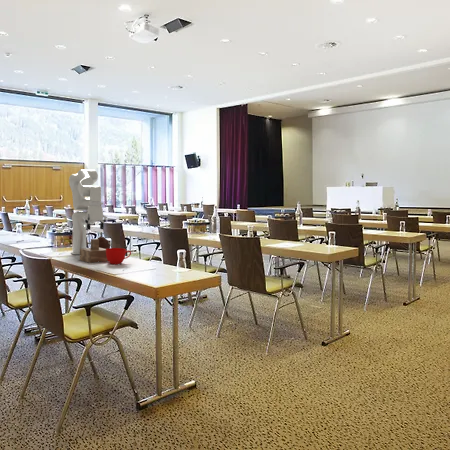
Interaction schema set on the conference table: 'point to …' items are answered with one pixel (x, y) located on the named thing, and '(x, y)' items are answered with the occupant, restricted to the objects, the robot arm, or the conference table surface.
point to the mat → (94, 262)
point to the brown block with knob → (93, 253)
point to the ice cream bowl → (103, 243)
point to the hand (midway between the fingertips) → (95, 229)
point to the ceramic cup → (116, 255)
